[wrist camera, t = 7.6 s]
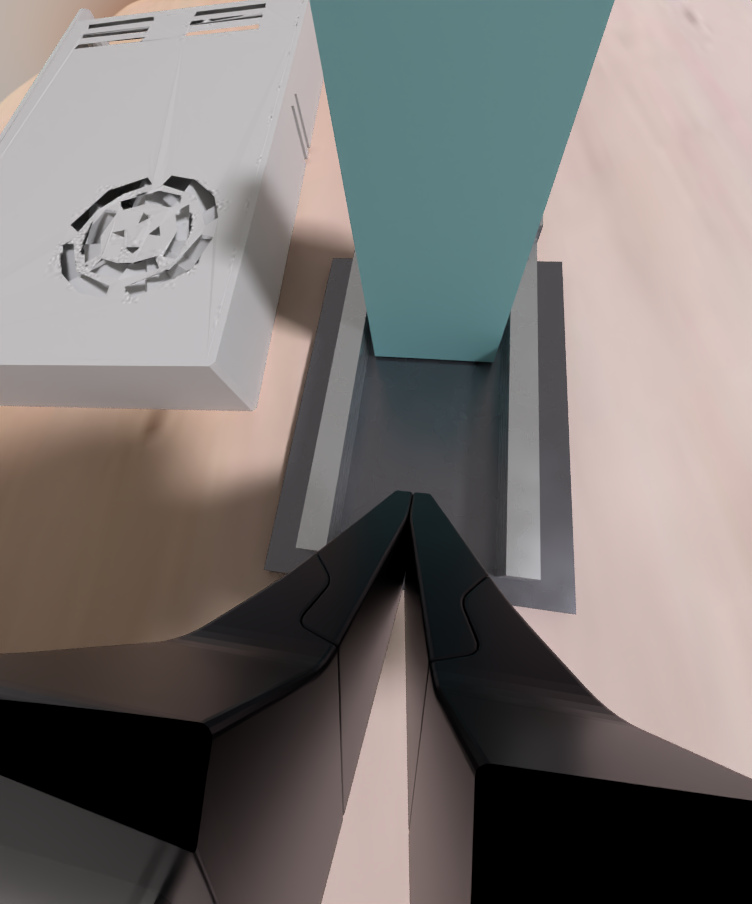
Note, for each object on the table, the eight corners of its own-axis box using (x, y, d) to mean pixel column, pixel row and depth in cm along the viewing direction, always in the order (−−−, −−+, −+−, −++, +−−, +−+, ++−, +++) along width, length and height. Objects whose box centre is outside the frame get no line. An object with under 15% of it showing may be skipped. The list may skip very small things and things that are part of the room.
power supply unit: (330, 64, 32) (314, -26, 27) (260, 416, 21) (214, 366, 16) (128, 84, 34) (82, 4, 29) (-32, 409, 23) (-146, 364, 18)
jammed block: (493, 362, 19) (672, -173, 6) (375, 356, 19) (287, -121, 6) (496, 283, 20) (639, -274, 7) (386, 280, 21) (336, -221, 8)
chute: (570, 613, 15) (613, 620, 12) (268, 570, 17) (232, 566, 14) (558, 270, 21) (584, 210, 18) (335, 266, 23) (320, 211, 20)
